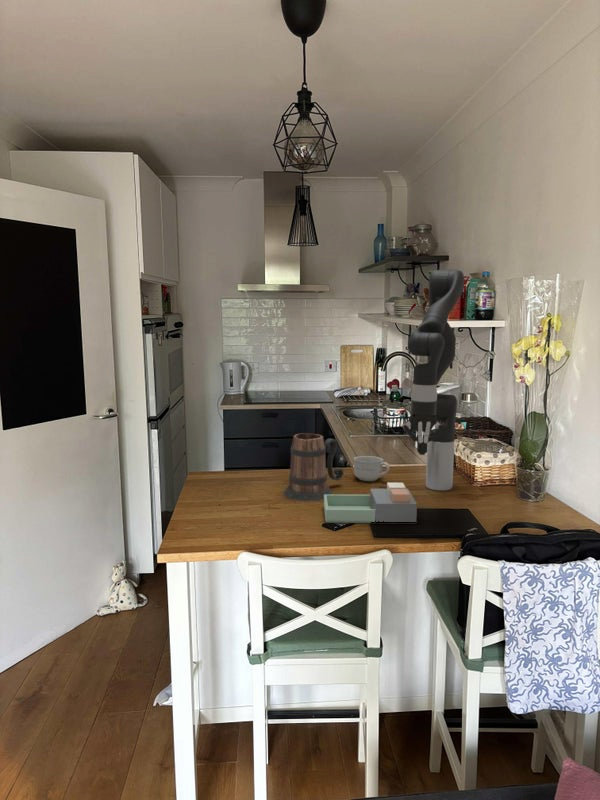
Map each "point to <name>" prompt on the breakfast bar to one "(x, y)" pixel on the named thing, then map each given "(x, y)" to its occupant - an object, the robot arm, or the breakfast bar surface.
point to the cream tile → (395, 486)
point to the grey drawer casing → (392, 507)
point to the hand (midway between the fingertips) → (421, 454)
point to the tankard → (311, 467)
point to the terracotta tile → (399, 495)
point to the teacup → (369, 467)
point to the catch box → (348, 509)
